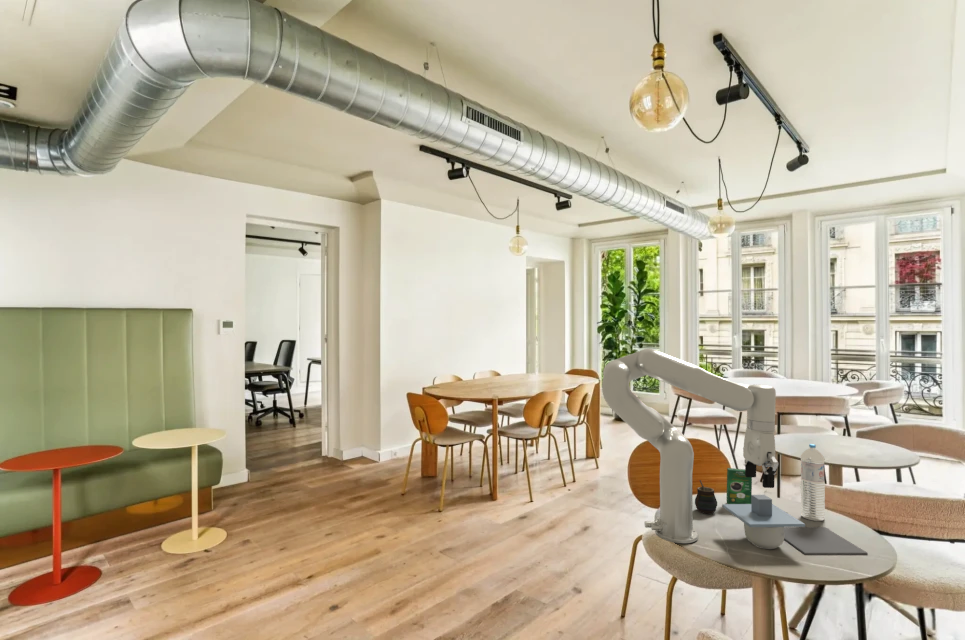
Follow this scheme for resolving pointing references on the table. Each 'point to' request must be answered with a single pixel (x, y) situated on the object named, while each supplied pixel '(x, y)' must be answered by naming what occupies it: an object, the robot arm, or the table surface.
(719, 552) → the table surface
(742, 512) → the lid
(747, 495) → the coffee box
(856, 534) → the table surface
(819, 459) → the water bottle
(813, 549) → the mat
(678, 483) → the robot arm
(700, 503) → the mate gourd
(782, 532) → the teacup
